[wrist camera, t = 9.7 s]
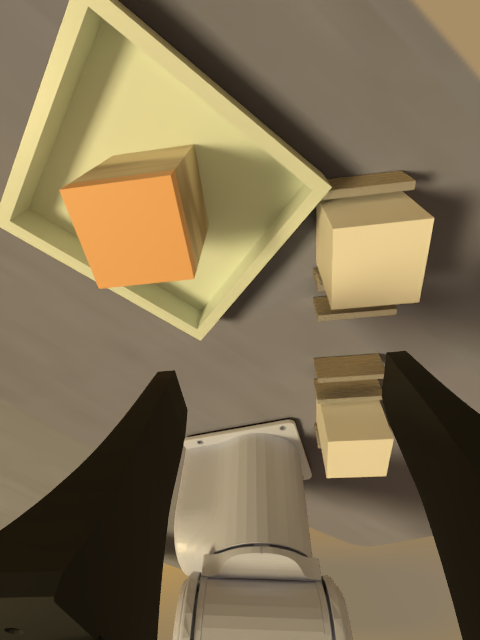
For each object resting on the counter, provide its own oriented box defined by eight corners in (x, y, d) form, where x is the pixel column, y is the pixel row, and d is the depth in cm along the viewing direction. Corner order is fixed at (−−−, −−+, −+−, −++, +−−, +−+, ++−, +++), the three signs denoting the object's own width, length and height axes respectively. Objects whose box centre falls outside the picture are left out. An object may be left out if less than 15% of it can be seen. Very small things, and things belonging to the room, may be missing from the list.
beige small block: (367, 417, 29) (386, 476, 25) (316, 420, 29) (326, 478, 25) (372, 381, 27) (393, 438, 23) (316, 384, 27) (328, 441, 23)
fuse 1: (386, 256, 21) (419, 302, 17) (316, 263, 21) (331, 309, 17) (394, 184, 19) (434, 218, 15) (315, 194, 19) (333, 229, 15)
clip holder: (369, 424, 29) (376, 445, 28) (314, 427, 30) (318, 448, 28) (401, 170, 18) (415, 180, 17) (312, 181, 19) (318, 192, 17)
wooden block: (208, 225, 19) (194, 279, 15) (136, 233, 20) (99, 288, 15) (193, 143, 17) (170, 175, 12) (113, 155, 18) (59, 189, 13)
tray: (323, 173, 18) (331, 187, 16) (205, 316, 24) (200, 340, 22) (103, -13, 15) (78, -26, 13) (20, 207, 20) (-7, 223, 18)
